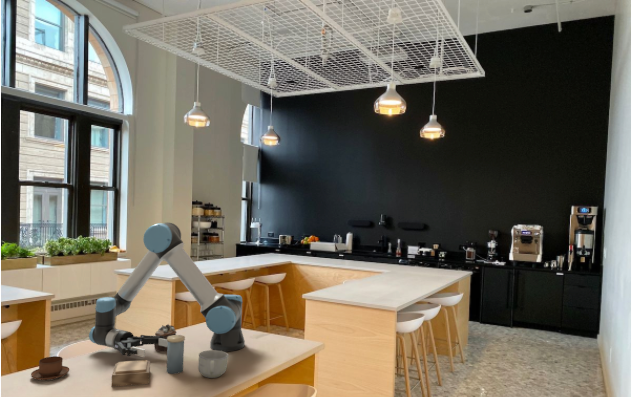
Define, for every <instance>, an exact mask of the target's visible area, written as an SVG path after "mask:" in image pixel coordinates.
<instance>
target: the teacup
mask: <svg viewBox="0 0 632 397" xmlns="http://www.w3.org/2000/svg"><path fill="white" fill-rule="evenodd" d="M228 360H229V353H227V351H217V350H214V349H212V350H211V349H210V350H209V349H208V350H204V351H200V352H199V353H198V366H197V368H198V372H199V373H200V374H201V375H202V376H203V377H205V378H210V379H214V378H219V377H221V376H222V375H223V374H225V372H226V370H227V367H228Z"/></svg>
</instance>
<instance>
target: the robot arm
mask: <svg viewBox="0 0 632 397" xmlns="http://www.w3.org/2000/svg"><path fill="white" fill-rule="evenodd" d="M142 238H143V244H144V247H145V248H146V249H147V252H146V253H145V255H144V256H143V257H142V259H141V260H140V261H139V262H138V264H137V265H136V266H135V267H134V269H133V270H132V272H131V273H130V274H129V276H128V277H127V279H126V280H125V282H124V283H122V286H121V287H120V288H119V290H117V292H116V294H115V295H114V296H113V297H111V296H107V297H104V296H103V297H100V298H98V299H97V300H96V303H95V308H94V309H95V318H94V319H95V320H94V322H95V323H94V326H93V327H91V329H90V331H89V333H88V339H89V341H90V342H91V343H94V344H95V345H99V346H103V347H107V348H112V349H114V350H117V351H118V352H119V353H120V355H121V356H127V357H131V355H132V356H133V355H134V356H138V357H141V358H145V357H146V349H145V348H140V347H143V346H144V345H145V346H147V345H154V344H159V345H160V346H165V347H167V346H168V341H167V339H164V336H156V335H147V334H146V335H145V334H141V335H140V336H136V335H134V333H133V332H131V331H128V330H123V329H119V328H115V323H116V321H115V320H116V317H117V316H119V315H122V314H123V313H125V312H126V311H128V310H129V309H130V307H131V303H132V302H133V300H134V299H135V298H136V297H137V295H138V294H139V293H140V291H141V290H142V288H143V287H144V286H145V284H147V281H148V280H149V279H150V277H151V276H152V275H153V274H154V272H155V271H156V270H157V269H158V267H159V265H161V263H162V262H164V261H165V262H166V263H167V264H168V266H169V267H170V268H171V270H172V271H173V272H174V273H175V275H176V276H177V277H178V279H179V280H180V282H181V283H182V284H183V285H184V286H185V287H186V289H187V290H188V291H189V293H190V294H191V296H192V297H193V298H194V299H195V301H196V302H197V303H198V304H199V306H200V312H199V313H200V314H202V316H203V317H204V318H205V324H206V327H207V329H209V331H210V332H212V333H213V334H212V336H211V340H210V345H209V346H210V349H212V350H217V351H223V352H234V351H239V350H242V349H243V348H244V347H245V344H246V343H245V338H244V335H243V330H242V315H243V297H242V296H241V295H239V294H224V293H219V292H218V291H217V290H216V289H215V287H214V286H213V284H211V283H210V281H209V280H208V279H207V277H206V276H205V275H204V273H203V272H202V271H201V270H200V268H199V267H198V266H197V264H196V263H195V262H194V261H193V259H192V258H191V256H190V255H189V253H188V252H186V250H185V249H184V246H185V245H184V244H185V243H184V241H183V240H182V232H181V229H180V227H179V226H177V225H176V224H175V223H173V222H163V223H161V222H158V223H155V224H153V225H150V226H149V227H148V228H147V229H145V231H144V234H143V237H142Z"/></svg>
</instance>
